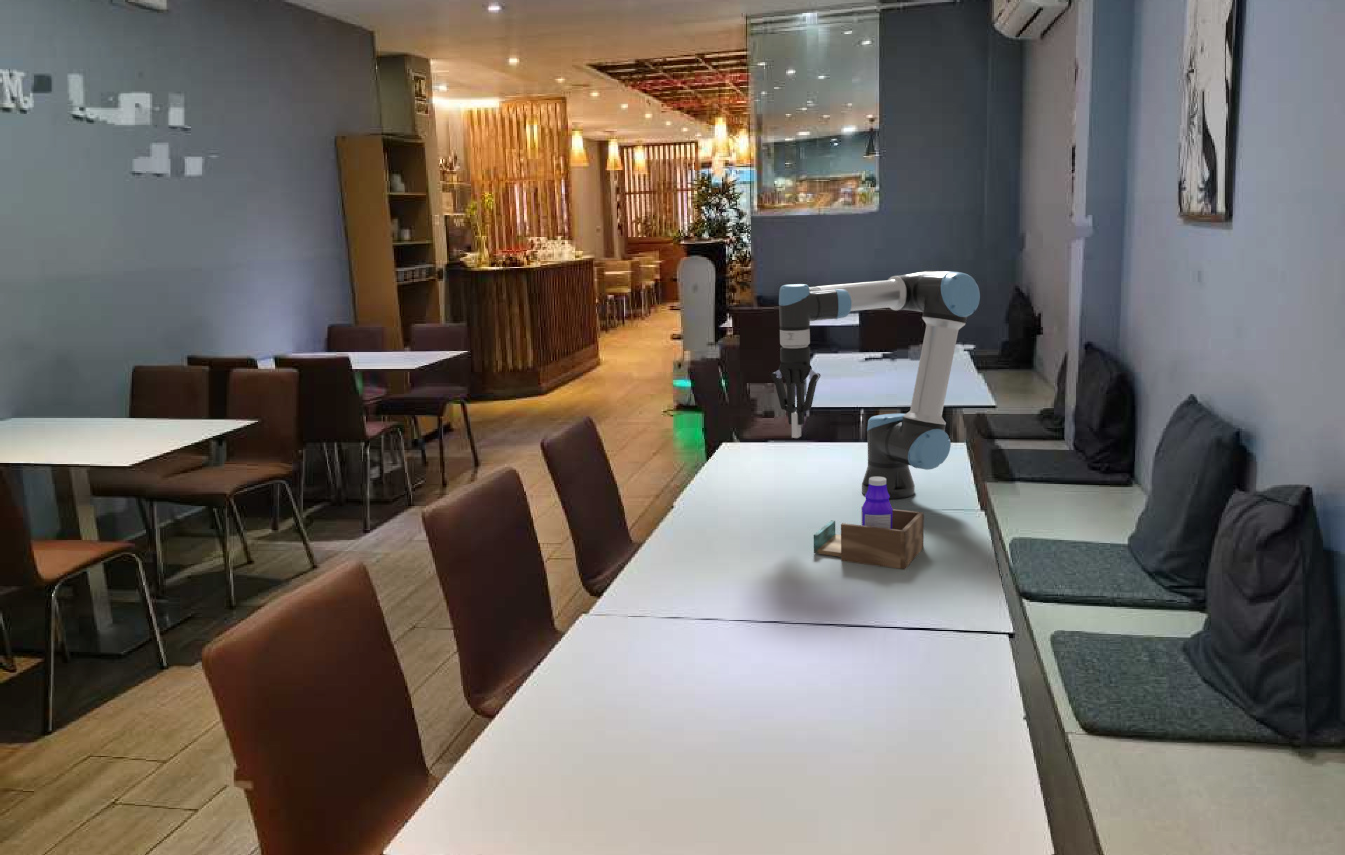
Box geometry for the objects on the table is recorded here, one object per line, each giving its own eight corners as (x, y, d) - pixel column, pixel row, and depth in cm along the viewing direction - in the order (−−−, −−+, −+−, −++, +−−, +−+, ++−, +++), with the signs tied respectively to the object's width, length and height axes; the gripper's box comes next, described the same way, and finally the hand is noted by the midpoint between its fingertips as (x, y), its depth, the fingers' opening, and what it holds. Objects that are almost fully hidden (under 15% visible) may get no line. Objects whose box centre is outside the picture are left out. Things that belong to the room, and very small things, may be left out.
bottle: (890, 544, 234) (891, 474, 231) (893, 552, 229) (894, 481, 225) (860, 544, 235) (860, 475, 231) (862, 552, 229) (862, 481, 226)
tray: (831, 537, 244) (831, 520, 243) (915, 548, 234) (915, 530, 233) (813, 553, 233) (813, 534, 232) (900, 564, 223) (900, 545, 222)
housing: (862, 540, 242) (862, 505, 240) (923, 547, 234) (923, 512, 233) (841, 560, 228) (840, 524, 226) (904, 569, 221) (904, 531, 219)
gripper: (765, 347, 244) (767, 438, 249) (813, 348, 238) (815, 441, 243) (777, 343, 251) (778, 432, 256) (824, 344, 244) (825, 435, 249)
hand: (796, 436), depth 249 cm, fingers closed
